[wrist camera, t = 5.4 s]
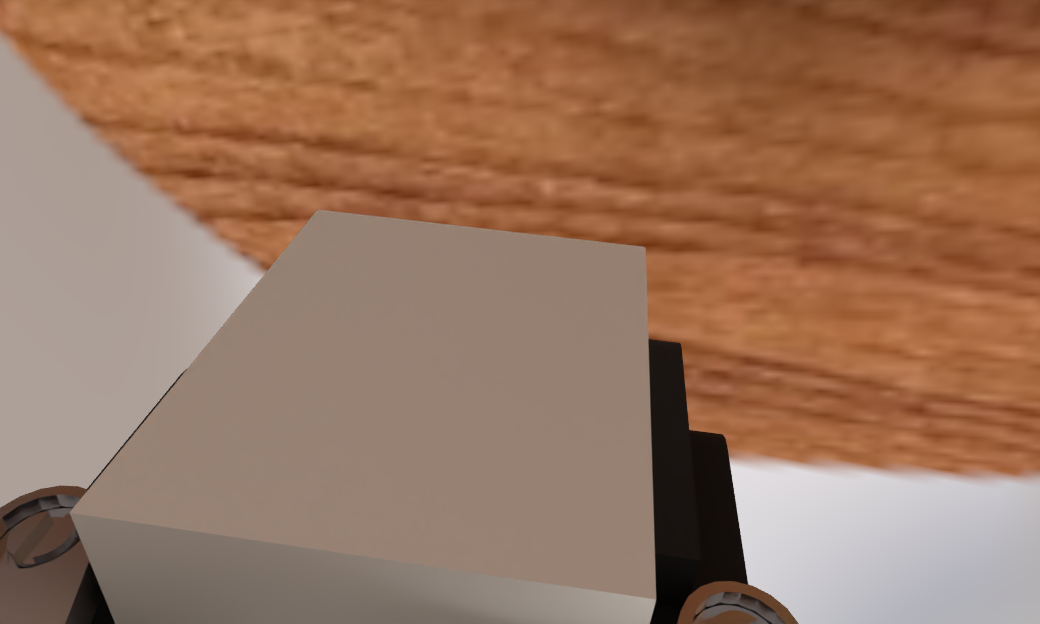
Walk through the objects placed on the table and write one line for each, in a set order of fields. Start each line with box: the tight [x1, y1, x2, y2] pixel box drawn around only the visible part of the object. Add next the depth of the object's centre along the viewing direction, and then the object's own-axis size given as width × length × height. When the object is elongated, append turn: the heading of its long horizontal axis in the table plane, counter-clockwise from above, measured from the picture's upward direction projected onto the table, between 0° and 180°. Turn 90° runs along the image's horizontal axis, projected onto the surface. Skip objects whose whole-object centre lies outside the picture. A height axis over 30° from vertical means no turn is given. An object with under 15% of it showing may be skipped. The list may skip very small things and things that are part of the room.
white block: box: [70, 210, 656, 624], centre depth 10 cm, size 5×5×6 cm
